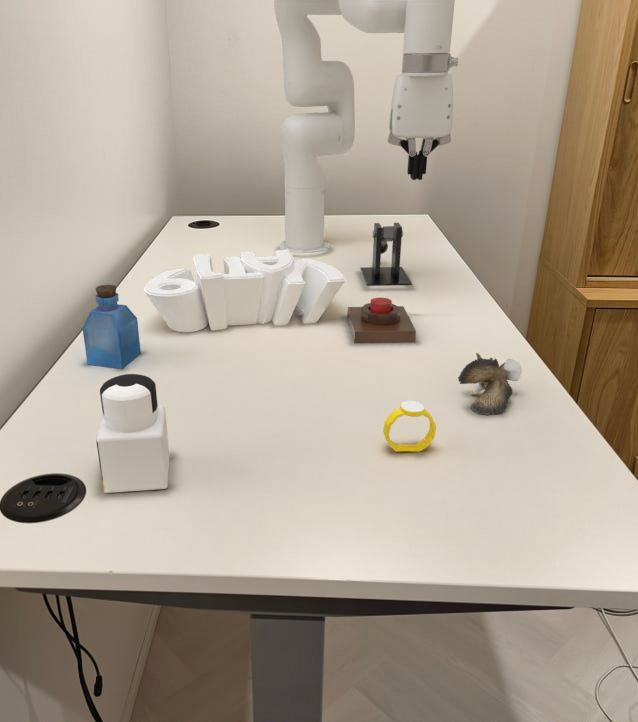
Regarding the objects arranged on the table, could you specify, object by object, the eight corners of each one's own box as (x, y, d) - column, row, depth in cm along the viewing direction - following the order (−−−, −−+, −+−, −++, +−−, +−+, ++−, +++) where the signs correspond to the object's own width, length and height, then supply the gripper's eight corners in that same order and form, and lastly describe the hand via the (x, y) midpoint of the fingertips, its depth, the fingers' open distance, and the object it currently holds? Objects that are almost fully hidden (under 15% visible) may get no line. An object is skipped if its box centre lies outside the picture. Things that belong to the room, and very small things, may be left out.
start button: (368, 307, 118) (369, 297, 117) (389, 306, 117) (390, 297, 117) (371, 314, 114) (371, 304, 114) (392, 313, 114) (393, 304, 113)
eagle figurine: (457, 372, 98) (443, 387, 91) (491, 337, 95) (479, 348, 87) (498, 408, 97) (487, 426, 89) (534, 373, 93) (526, 389, 86)
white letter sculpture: (331, 298, 133) (332, 246, 129) (347, 329, 118) (349, 271, 114) (152, 307, 131) (147, 253, 127) (145, 339, 116) (139, 280, 112)
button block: (347, 318, 123) (348, 297, 121) (402, 317, 123) (404, 296, 121) (354, 343, 112) (355, 321, 110) (415, 343, 112) (416, 320, 110)
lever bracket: (360, 272, 148) (362, 219, 143) (401, 272, 148) (405, 218, 143) (367, 290, 137) (369, 232, 133) (411, 289, 137) (415, 231, 132)
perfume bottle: (140, 353, 111) (133, 283, 106) (122, 369, 105) (113, 295, 100) (107, 349, 113) (98, 280, 108) (87, 364, 107) (77, 292, 102)
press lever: (372, 255, 150) (371, 241, 150) (386, 255, 150) (386, 241, 150) (381, 239, 137) (380, 224, 137) (396, 239, 137) (396, 224, 137)
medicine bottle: (110, 459, 82) (98, 369, 77) (169, 455, 82) (161, 365, 77) (103, 494, 75) (89, 398, 70) (167, 489, 76) (158, 394, 71)
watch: (385, 457, 81) (388, 413, 78) (380, 444, 83) (383, 401, 81) (435, 454, 81) (439, 410, 78) (428, 442, 83) (432, 399, 81)
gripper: (465, 64, 115) (454, 174, 123) (377, 66, 116) (371, 175, 124) (476, 65, 108) (463, 182, 116) (382, 67, 109) (376, 183, 117)
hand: (416, 178), depth 120 cm, fingers closed
